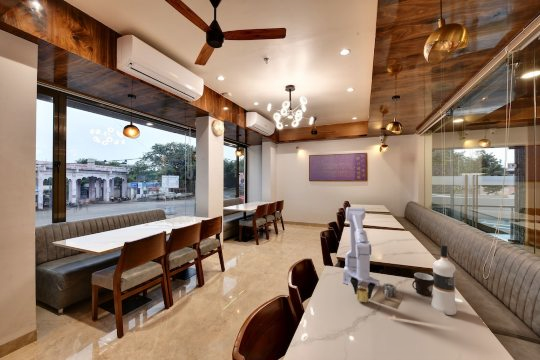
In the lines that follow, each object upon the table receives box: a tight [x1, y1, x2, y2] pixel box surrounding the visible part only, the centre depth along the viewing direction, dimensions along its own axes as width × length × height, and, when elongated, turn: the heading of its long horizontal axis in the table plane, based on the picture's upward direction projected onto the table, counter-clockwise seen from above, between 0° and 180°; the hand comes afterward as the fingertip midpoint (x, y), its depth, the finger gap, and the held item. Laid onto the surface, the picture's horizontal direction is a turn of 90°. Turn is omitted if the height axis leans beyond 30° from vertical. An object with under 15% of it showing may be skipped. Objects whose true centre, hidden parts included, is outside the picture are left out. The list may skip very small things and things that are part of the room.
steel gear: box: [382, 283, 397, 297], centre depth 118 cm, size 6×6×4 cm
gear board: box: [369, 286, 406, 310], centre depth 115 cm, size 12×18×6 cm, turn 140°
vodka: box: [430, 244, 458, 316], centre depth 106 cm, size 9×9×30 cm
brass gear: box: [356, 286, 370, 303], centre depth 111 cm, size 6×6×4 cm
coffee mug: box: [411, 272, 433, 298], centre depth 119 cm, size 12×9×10 cm
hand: (362, 295), depth 111 cm, fingers closed on brass gear, 6 cm apart
